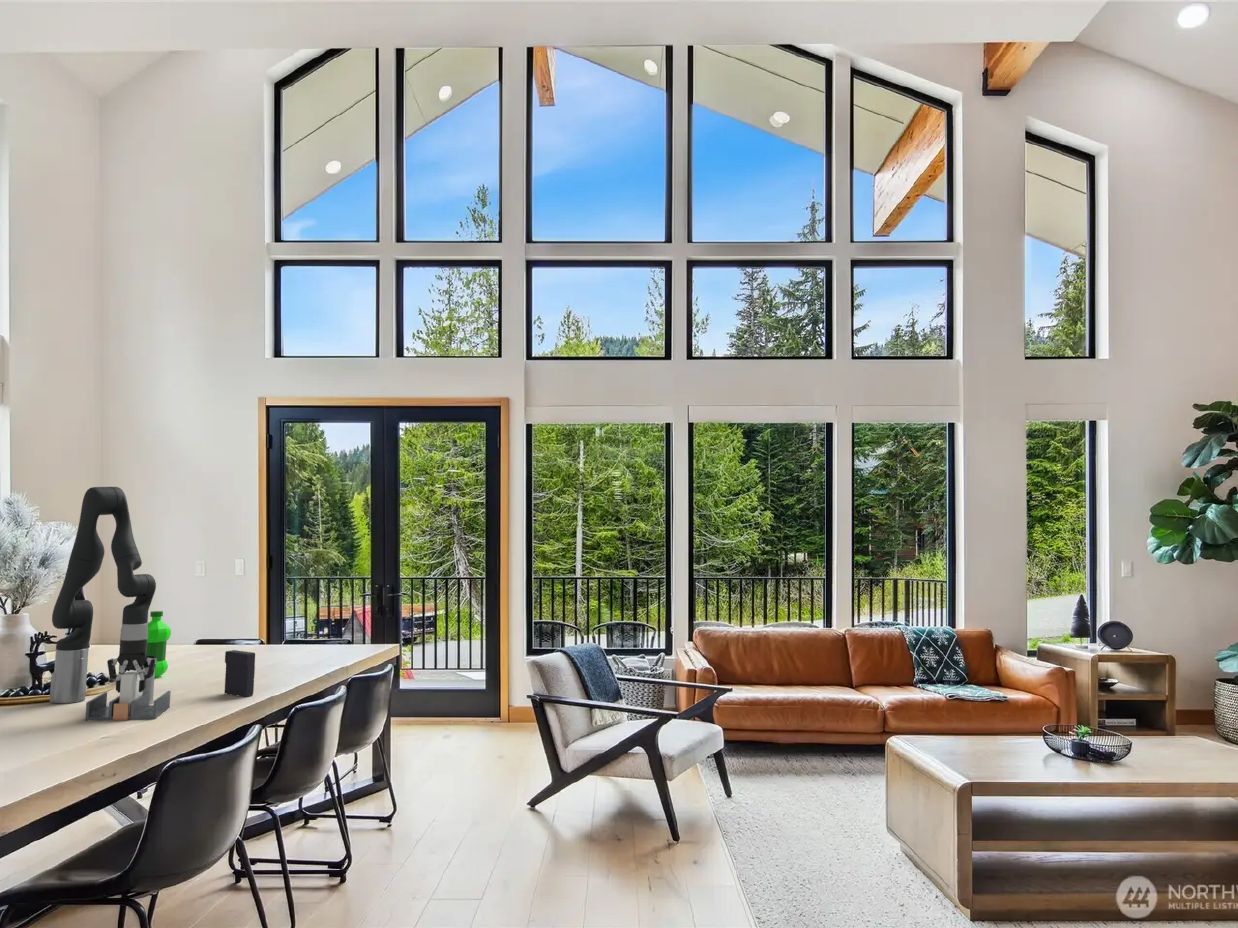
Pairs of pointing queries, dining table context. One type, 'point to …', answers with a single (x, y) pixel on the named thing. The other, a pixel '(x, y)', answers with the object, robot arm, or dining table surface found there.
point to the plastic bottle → (158, 641)
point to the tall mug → (148, 681)
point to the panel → (129, 688)
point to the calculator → (239, 673)
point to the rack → (126, 708)
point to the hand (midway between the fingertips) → (130, 691)
